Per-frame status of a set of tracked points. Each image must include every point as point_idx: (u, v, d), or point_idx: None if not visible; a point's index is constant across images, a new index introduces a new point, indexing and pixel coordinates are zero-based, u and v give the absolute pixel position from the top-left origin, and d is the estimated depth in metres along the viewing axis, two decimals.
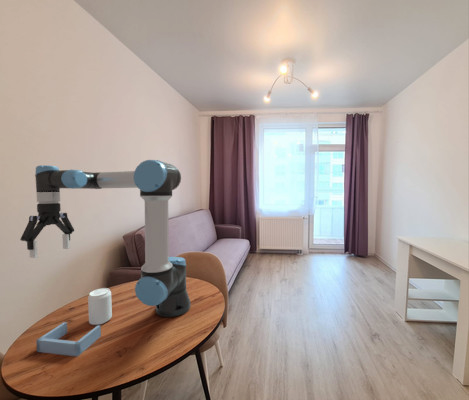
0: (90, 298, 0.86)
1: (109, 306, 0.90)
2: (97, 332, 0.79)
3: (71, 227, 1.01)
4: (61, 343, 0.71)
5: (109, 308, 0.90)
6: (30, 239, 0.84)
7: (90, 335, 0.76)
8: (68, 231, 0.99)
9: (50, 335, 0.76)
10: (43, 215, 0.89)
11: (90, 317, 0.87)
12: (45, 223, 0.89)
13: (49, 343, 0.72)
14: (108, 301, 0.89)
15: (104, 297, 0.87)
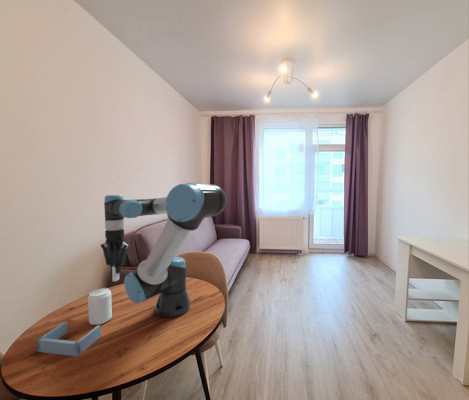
0: (90, 298, 0.86)
1: (109, 306, 0.90)
2: (97, 332, 0.79)
3: (120, 260, 0.98)
4: (61, 343, 0.71)
5: (109, 308, 0.90)
6: None
7: (90, 335, 0.76)
8: (116, 263, 0.98)
9: (50, 335, 0.76)
10: (106, 240, 0.99)
11: (90, 317, 0.87)
12: (109, 249, 0.98)
13: (49, 343, 0.72)
14: (108, 301, 0.89)
15: (104, 297, 0.87)
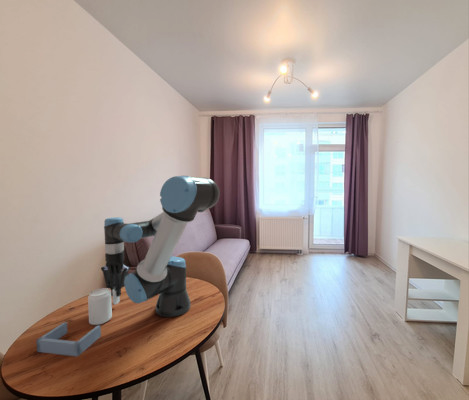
0: (90, 298, 0.86)
1: (109, 306, 0.90)
2: (97, 332, 0.79)
3: (120, 283, 0.98)
4: (61, 343, 0.71)
5: (109, 308, 0.90)
6: None
7: (90, 335, 0.76)
8: (116, 286, 0.98)
9: (50, 335, 0.76)
10: (106, 263, 0.98)
11: (90, 317, 0.87)
12: (110, 272, 0.98)
13: (49, 343, 0.72)
14: (108, 301, 0.89)
15: (104, 297, 0.87)
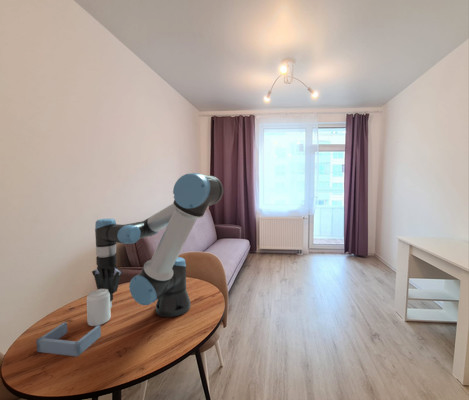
0: (89, 299, 0.86)
1: (108, 307, 0.89)
2: (97, 332, 0.79)
3: (112, 288, 0.93)
4: (61, 343, 0.71)
5: (108, 309, 0.89)
6: None
7: (90, 335, 0.76)
8: None
9: (50, 335, 0.76)
10: (97, 267, 0.94)
11: (89, 318, 0.86)
12: (101, 276, 0.93)
13: (49, 343, 0.72)
14: (107, 302, 0.89)
15: (103, 298, 0.87)
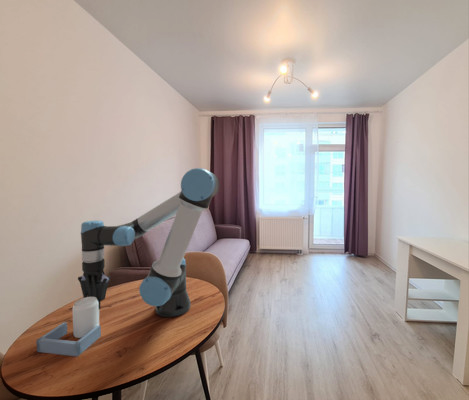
0: (76, 309, 0.78)
1: (97, 315, 0.83)
2: (97, 332, 0.79)
3: (99, 296, 0.86)
4: (61, 343, 0.71)
5: (97, 317, 0.83)
6: None
7: (90, 335, 0.76)
8: None
9: (50, 335, 0.76)
10: (83, 273, 0.87)
11: (76, 330, 0.79)
12: (87, 283, 0.86)
13: (49, 343, 0.72)
14: (97, 310, 0.83)
15: (92, 307, 0.81)
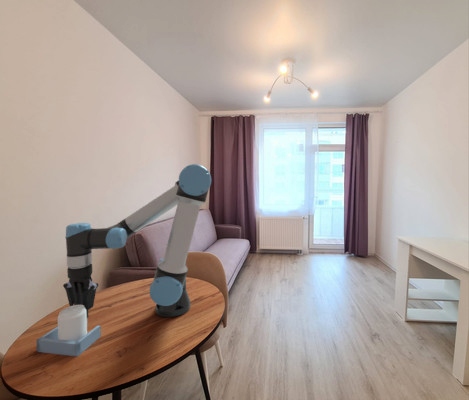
0: (62, 319, 0.72)
1: (85, 325, 0.77)
2: (97, 332, 0.79)
3: (87, 304, 0.80)
4: (61, 343, 0.71)
5: (85, 327, 0.77)
6: None
7: (90, 335, 0.76)
8: None
9: (50, 335, 0.76)
10: (69, 279, 0.80)
11: None
12: (73, 290, 0.80)
13: (49, 343, 0.72)
14: (85, 319, 0.77)
15: (80, 315, 0.75)
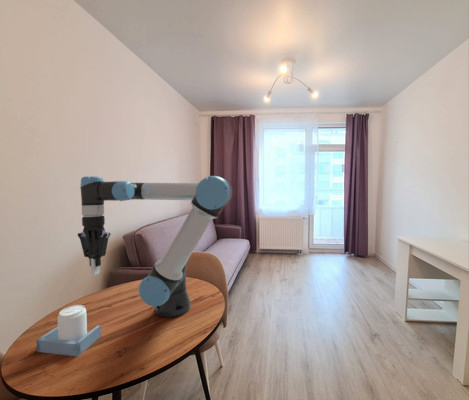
0: (62, 319, 0.72)
1: (85, 325, 0.77)
2: (97, 332, 0.79)
3: (100, 251, 0.85)
4: (61, 343, 0.71)
5: (85, 327, 0.77)
6: None
7: (90, 335, 0.76)
8: (95, 255, 0.86)
9: (50, 335, 0.76)
10: (83, 229, 0.86)
11: None
12: (87, 238, 0.86)
13: (49, 343, 0.72)
14: (85, 319, 0.77)
15: (80, 315, 0.75)
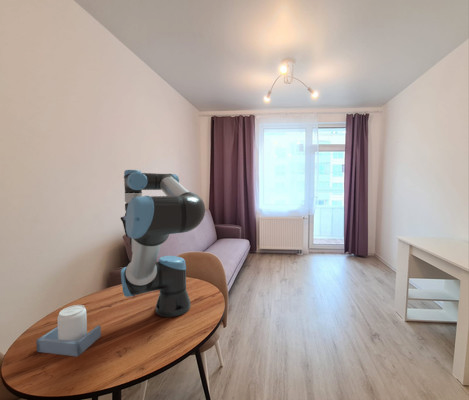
0: (62, 319, 0.72)
1: (85, 325, 0.77)
2: (97, 332, 0.79)
3: None
4: (61, 343, 0.71)
5: (85, 327, 0.77)
6: None
7: (90, 335, 0.76)
8: None
9: (50, 335, 0.76)
10: (125, 213, 1.04)
11: None
12: None
13: (49, 343, 0.72)
14: (85, 319, 0.77)
15: (80, 315, 0.75)
